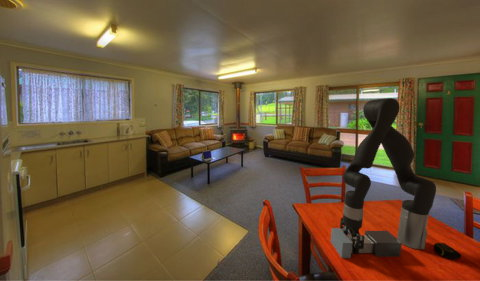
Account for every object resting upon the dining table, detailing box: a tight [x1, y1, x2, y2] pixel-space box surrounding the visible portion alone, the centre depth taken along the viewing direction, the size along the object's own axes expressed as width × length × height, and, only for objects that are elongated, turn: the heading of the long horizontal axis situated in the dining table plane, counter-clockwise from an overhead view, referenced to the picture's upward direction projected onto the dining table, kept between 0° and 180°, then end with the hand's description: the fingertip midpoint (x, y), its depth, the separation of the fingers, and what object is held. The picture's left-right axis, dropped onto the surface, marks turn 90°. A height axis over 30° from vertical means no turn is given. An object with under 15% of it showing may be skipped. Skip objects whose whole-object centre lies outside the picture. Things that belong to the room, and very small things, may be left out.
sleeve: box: [364, 230, 403, 258], centre depth 82 cm, size 10×8×7 cm
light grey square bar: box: [346, 234, 375, 254], centre depth 82 cm, size 17×6×6 cm, turn 89°
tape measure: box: [433, 242, 462, 260], centre depth 79 cm, size 7×7×4 cm
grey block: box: [330, 227, 352, 259], centre depth 82 cm, size 4×10×7 cm, turn 178°
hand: (349, 246), depth 83 cm, fingers open, 8 cm apart
